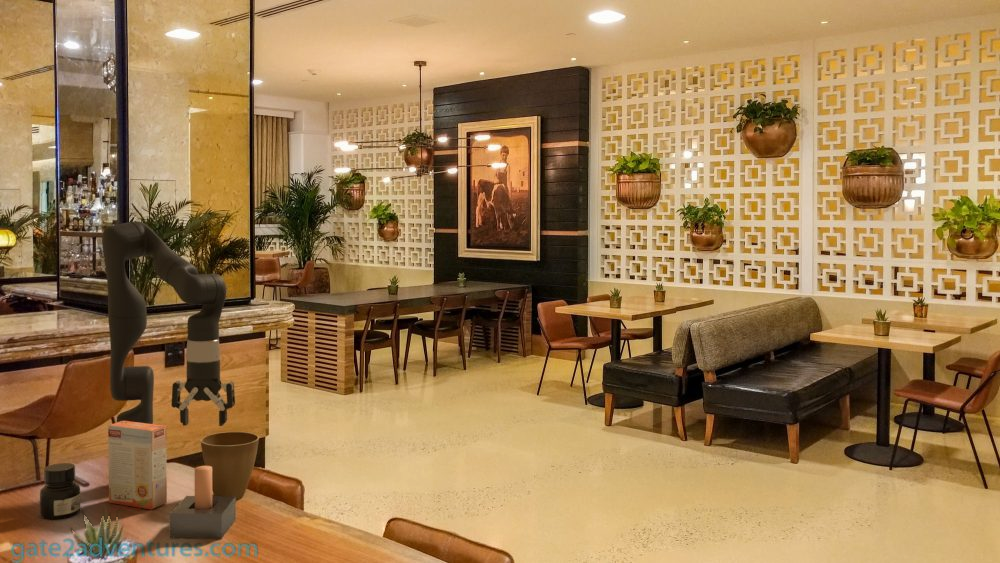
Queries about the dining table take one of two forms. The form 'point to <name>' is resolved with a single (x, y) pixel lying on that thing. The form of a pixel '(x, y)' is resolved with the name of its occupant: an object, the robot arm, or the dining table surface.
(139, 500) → the cracker box
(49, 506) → the ink bottle
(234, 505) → the socket
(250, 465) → the plant pot
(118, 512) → the dining table surface
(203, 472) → the peg
